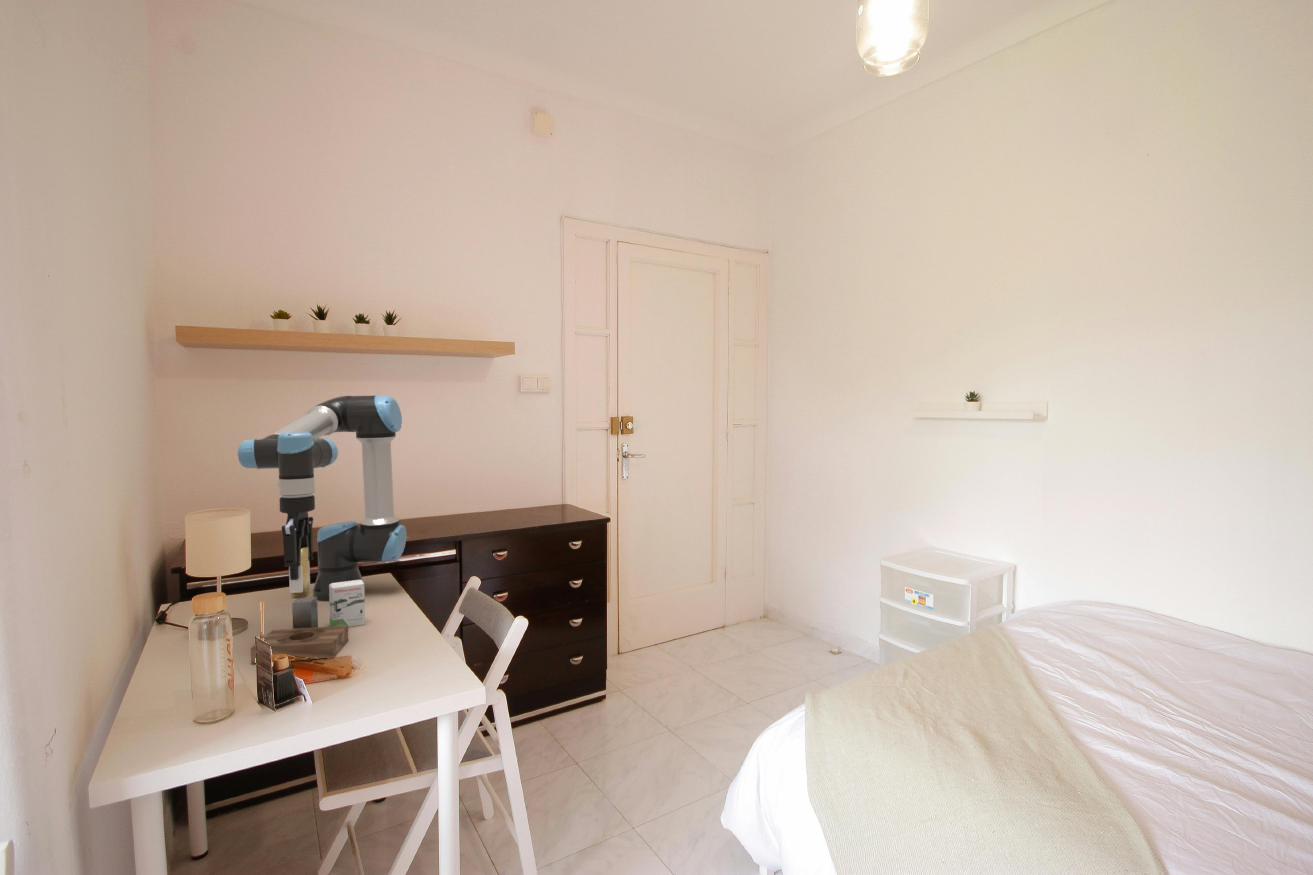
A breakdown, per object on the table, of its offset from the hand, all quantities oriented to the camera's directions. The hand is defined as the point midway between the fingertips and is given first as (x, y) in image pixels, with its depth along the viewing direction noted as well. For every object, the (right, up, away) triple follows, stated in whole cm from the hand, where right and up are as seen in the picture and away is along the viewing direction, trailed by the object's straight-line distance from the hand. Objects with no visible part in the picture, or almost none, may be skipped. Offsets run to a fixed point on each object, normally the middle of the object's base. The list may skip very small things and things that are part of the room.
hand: (300, 589), depth 154 cm
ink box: (+2, -15, +20) cm, 25 cm away
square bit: (-5, -15, +11) cm, 19 cm away
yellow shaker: (0, -2, 0) cm, 2 cm away
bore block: (0, -16, +1) cm, 16 cm away
